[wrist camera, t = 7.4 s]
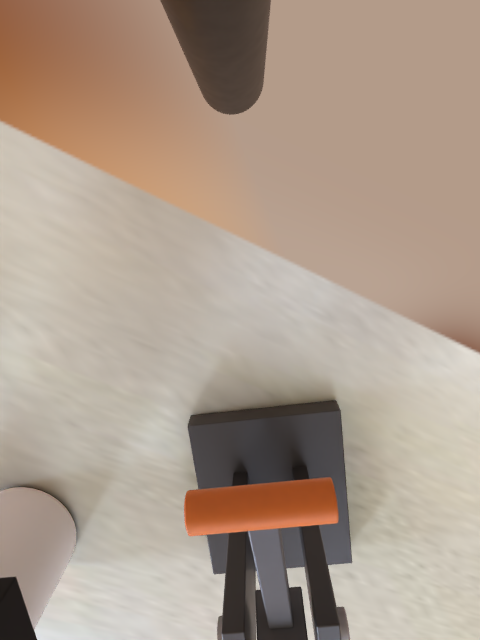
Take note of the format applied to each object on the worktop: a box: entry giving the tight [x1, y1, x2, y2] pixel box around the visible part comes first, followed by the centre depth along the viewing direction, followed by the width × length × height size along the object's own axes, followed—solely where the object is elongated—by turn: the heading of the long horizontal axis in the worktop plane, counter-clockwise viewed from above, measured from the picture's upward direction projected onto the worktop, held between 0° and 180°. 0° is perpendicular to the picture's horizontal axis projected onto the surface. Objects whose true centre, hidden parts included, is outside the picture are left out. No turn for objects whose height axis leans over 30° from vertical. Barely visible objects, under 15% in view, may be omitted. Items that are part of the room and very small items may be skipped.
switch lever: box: [184, 477, 339, 640], centre depth 18 cm, size 12×5×2 cm, turn 7°
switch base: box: [188, 401, 352, 640], centre depth 25 cm, size 12×10×13 cm
